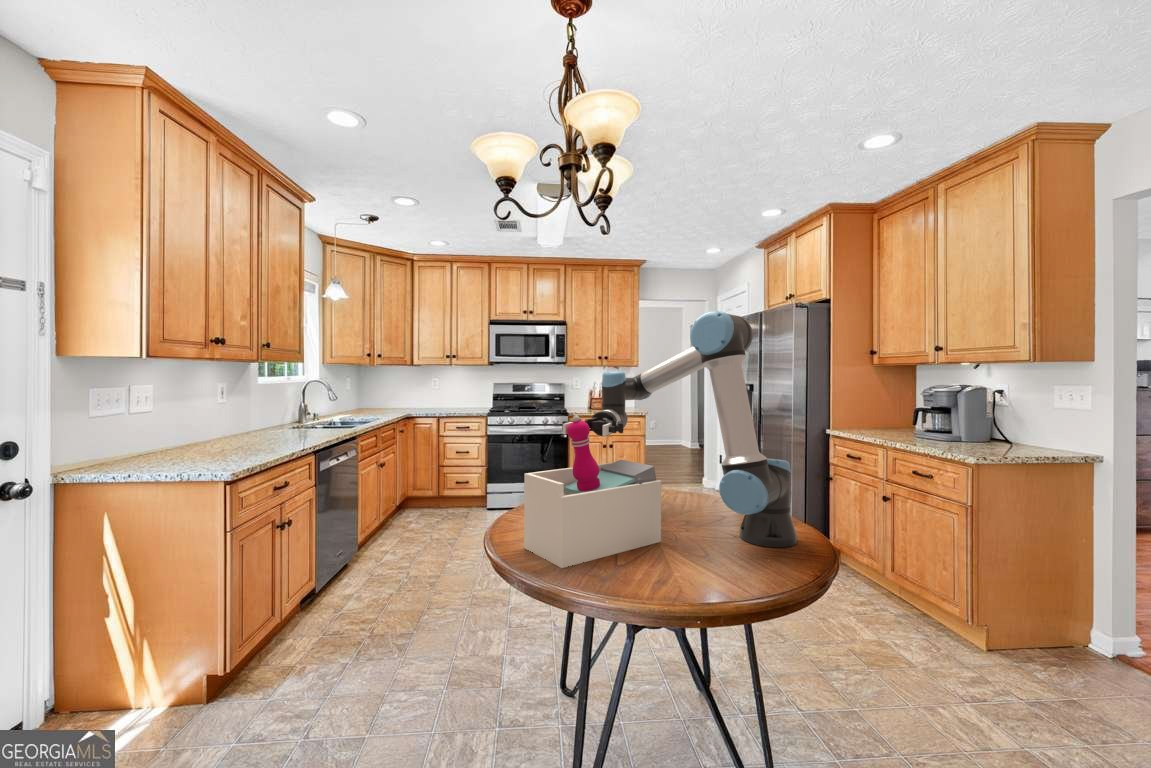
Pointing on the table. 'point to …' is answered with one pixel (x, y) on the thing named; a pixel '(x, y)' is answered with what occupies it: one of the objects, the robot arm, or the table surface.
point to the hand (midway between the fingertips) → (583, 429)
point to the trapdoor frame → (587, 518)
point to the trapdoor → (619, 475)
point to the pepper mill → (583, 456)
